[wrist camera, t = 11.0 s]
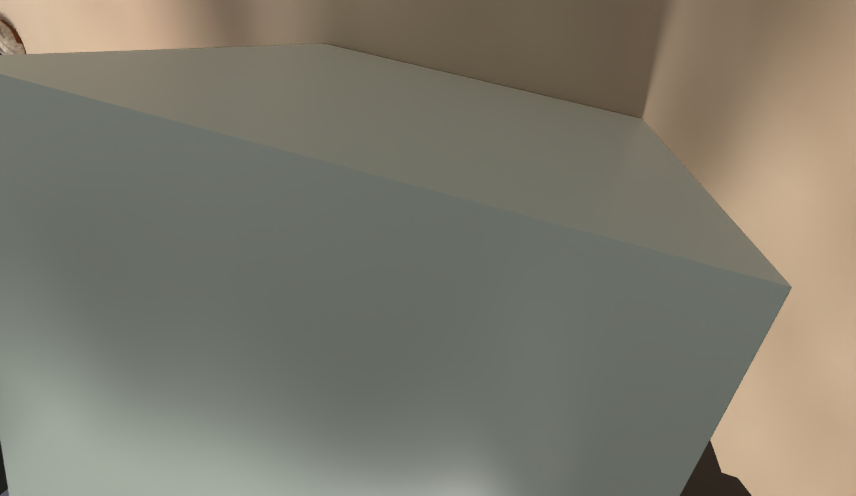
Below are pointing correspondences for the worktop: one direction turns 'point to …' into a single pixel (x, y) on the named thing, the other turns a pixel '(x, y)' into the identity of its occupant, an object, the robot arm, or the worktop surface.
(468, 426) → the pale green block
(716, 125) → the worktop surface
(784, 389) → the worktop surface
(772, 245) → the worktop surface
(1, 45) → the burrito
